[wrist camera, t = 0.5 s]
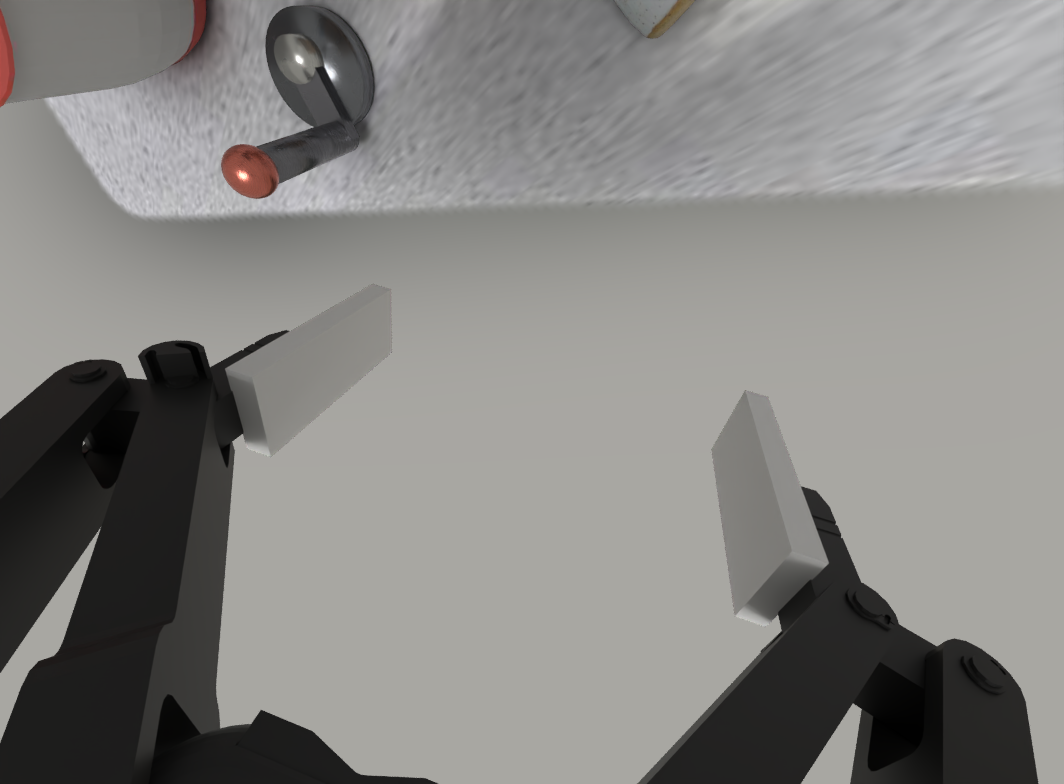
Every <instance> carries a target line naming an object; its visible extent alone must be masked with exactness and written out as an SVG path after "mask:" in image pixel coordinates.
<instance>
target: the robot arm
mask: <svg viewBox="0 0 1064 784" xmlns="http://www.w3.org/2000/svg"><path fill="white" fill-rule="evenodd" d="M391 328H392V327H391V289H389V288H385V287H382V286H378V285H375V284H371V285H370V286H368V287H366V288H364V289H362V290H361V291H359V292H357V293H356V294H354V295H352V296H350V297H349V298H347V299H345V300H343V301H342V302H340V303H338V304H336V305H335V306H333V307H331V308H330V309H328V310H326V311H324V312H323V313H321V314H319V315H317V316H316V317H314V318H312V319H310V320H309V321H307V322H305V323H303V324H302V325H300V326H298V327H296V328H295V329H293V330H291V331H287V330H285V331H281V332H278V333H274V334H271V335H268V336H266V337H264V338H262V339H261V340H259V341H257V342H255V344H251V345H250V346H248V347H246V348H244V350H243V351H242V350H241V351H239V352H237V353H235V354H233V355H232V356H230V357H228V358H226V359H224V360H223V361H221V362H219V363H217V364H215V365H214V366H212V367H210V366H209V363H208V359H207V356H206V353H205V349H204V347H203V346H202V345H200V344H198V343H195V342H191V341H169V342H163V343H160V344H156V345H152V346H150V347H148V348H147V349H145V350H143V351H142V352H141V353H140V354H139V356H138V358H139V360H140V362H141V365H142V367H143V370H144V372H145V375H146V377H147V380H144V379H133V378H127V377H126V374H125V372H124V370H123V368H122V366H121V364H119V363H117V362H115V361H111V360H86V361H80V362H76V363H74V364H72V365H69V366H66V367H63V368H62V369H60V370H58V371H57V372H55V373H54V374H53V375H52V376H50V377H49V378H48V379H47V380H46V381H44V382H43V383H42V384H41V385H40V386H39V387H37V388H36V389H35V390H34V391H33V392H32V393H30V394H29V395H28V396H27V397H26V398H24V400H22V401H21V402H20V403H19V404H17V405H16V406H15V407H14V408H13V409H12V410H10V411H9V412H8V413H7V414H6V415H4V416H3V417H2V418H1V419H0V673H1V671H2V670H3V668H4V667H5V665H6V664H7V663H8V661H9V660H10V658H11V657H12V655H13V654H14V652H15V651H16V649H17V648H18V646H19V645H20V644H21V642H22V641H23V639H24V638H25V636H26V635H27V633H28V632H29V630H30V629H31V628H32V626H33V625H34V623H35V622H36V620H37V619H38V617H39V616H40V614H41V613H42V612H43V610H44V609H45V607H46V606H47V604H48V603H49V601H50V600H51V599H52V597H53V596H54V594H55V593H56V591H57V590H58V588H59V587H60V586H61V584H62V583H63V581H64V580H65V578H66V577H67V575H68V573H69V572H70V571H71V569H72V568H73V567H74V565H75V564H76V562H77V561H78V559H79V558H80V556H81V555H82V553H83V552H84V551H85V549H86V548H87V546H88V545H89V543H90V542H91V541H92V539H93V538H94V536H95V535H96V533H97V532H98V530H99V529H100V527H101V526H102V527H101V530H100V533H99V535H98V538H97V542H96V544H95V548H94V551H93V554H92V556H91V560H90V562H89V565H88V569H87V571H86V574H85V578H84V580H83V583H82V587H81V589H80V592H79V595H78V598H77V601H76V604H75V607H74V610H73V613H72V616H71V619H70V622H69V625H68V628H67V631H66V634H65V637H64V640H63V643H62V645H61V647H60V649H59V651H58V652H57V653H56V654H55V655H54V656H53V657H50V658H47V659H44V660H41V661H38V663H37V664H36V665H35V666H34V667H33V668H32V669H31V670H30V671H29V673H28V675H27V677H26V679H25V681H24V683H23V685H22V687H21V689H20V692H19V695H18V697H17V700H16V703H15V705H14V708H13V711H12V713H11V716H10V719H9V721H8V724H7V727H6V730H5V732H4V735H3V737H2V740H1V743H0V784H437V783H435V782H433V781H431V780H428V779H426V778H409V777H387V776H367V775H360V774H358V773H356V772H355V771H354V770H353V769H351V768H350V767H349V766H348V765H347V764H346V763H345V762H344V761H343V760H342V759H341V758H340V757H339V756H338V755H337V754H336V753H335V752H334V751H333V750H331V749H330V748H329V747H328V746H327V745H326V744H325V743H324V742H323V741H322V740H321V739H320V738H319V737H318V736H317V735H316V734H315V733H314V732H313V731H311V730H308V729H306V728H303V727H301V726H299V725H296V724H294V723H291V722H288V721H286V720H284V719H281V718H279V717H277V716H275V715H272V714H270V713H267V712H265V711H263V710H261V711H260V712H259V714H258V715H257V717H256V718H255V720H254V721H253V722H252V724H245V725H235V726H229V727H225V728H221V729H220V719H219V709H218V703H217V697H216V677H217V664H218V652H219V640H220V627H221V614H222V603H223V590H224V578H225V565H226V552H227V540H228V526H229V515H230V503H231V489H232V478H233V465H234V453H235V450H234V447H233V443H232V441H234V440H235V439H236V438H237V437H239V436H240V435H241V434H243V435H244V439H245V443H246V446H247V449H249V450H252V451H254V452H257V453H260V454H263V455H266V456H269V457H272V456H273V455H274V454H275V453H276V452H277V451H279V450H280V449H281V448H282V447H283V446H284V445H285V444H287V443H288V442H289V441H290V440H291V439H292V438H293V437H295V436H296V435H297V434H298V433H299V432H301V431H302V430H303V429H304V428H305V427H306V426H307V425H308V424H310V423H311V422H312V421H313V420H314V419H316V418H317V417H318V416H319V415H320V414H321V413H322V412H323V411H325V410H326V409H327V408H328V407H329V406H330V405H332V404H333V403H334V402H335V401H336V400H337V399H339V398H340V397H341V396H342V395H343V394H344V393H345V392H347V391H348V390H349V389H350V388H351V387H352V386H354V385H355V384H356V383H357V382H358V381H359V380H360V379H361V378H363V377H364V376H365V375H366V374H367V373H368V372H370V371H371V370H372V369H373V368H374V367H375V366H377V365H378V364H379V363H380V362H381V361H382V360H384V359H385V358H386V357H387V356H388V355H389V354H390V353H392V329H391ZM83 441H84V442H85V444H84V445H83ZM712 456H713V464H714V471H715V478H716V485H717V492H718V498H719V507H720V514H721V521H722V528H723V535H724V542H725V550H726V557H727V563H728V571H729V578H730V585H731V593H732V599H733V607H734V613H735V617H738V618H741V619H744V620H747V621H750V622H752V623H755V624H758V625H761V626H764V627H766V626H767V625H768V624H769V623H770V622H771V621H772V620H773V619H774V618H775V617H776V616H777V615H778V616H779V620H780V624H781V629H782V631H781V632H780V633H779V634H778V635H777V636H776V637H775V638H774V639H773V640H772V641H771V642H770V643H769V644H768V645H767V646H766V647H765V648H764V649H762V650H761V653H760V654H759V655H758V656H757V657H756V659H754V661H752V663H751V664H750V665H749V666H748V667H747V668H746V669H745V670H744V671H743V672H742V673H741V674H740V675H739V676H738V677H737V678H736V680H735V681H734V682H733V683H732V684H731V685H730V686H729V687H728V688H727V689H726V690H725V691H724V693H722V694H721V695H720V697H719V698H718V699H717V700H716V701H715V702H714V703H713V704H712V705H711V706H710V707H709V708H708V710H706V712H705V713H704V714H703V715H702V716H701V717H700V718H699V719H698V720H697V721H696V722H695V723H694V724H693V725H692V726H691V728H690V729H689V730H688V731H687V732H686V733H685V734H684V735H683V736H682V737H681V738H680V739H679V740H678V741H677V742H676V743H675V745H673V747H672V748H671V749H670V750H669V751H668V752H667V753H666V754H665V755H664V756H663V757H662V758H661V759H660V760H659V761H658V762H657V764H656V765H655V766H654V767H653V768H652V769H651V770H650V771H649V772H648V773H647V774H646V775H645V777H643V778H642V779H641V781H640V782H639V783H638V784H801V782H802V781H803V779H804V778H805V776H806V775H807V773H808V771H809V770H810V768H811V767H812V765H813V764H814V762H815V761H816V759H817V758H818V756H819V754H820V753H821V751H822V750H823V748H824V747H825V745H826V744H827V742H828V740H829V739H830V738H831V736H832V734H833V733H834V731H835V730H836V728H837V726H838V725H839V724H840V722H841V721H842V719H843V717H844V716H845V714H846V713H847V711H848V710H849V708H850V707H851V705H852V704H853V703H854V704H855V705H857V706H858V707H860V708H861V709H862V711H861V718H860V724H859V731H858V738H857V744H856V750H855V757H854V763H853V770H852V777H851V783H850V784H1038V779H1037V772H1036V765H1035V759H1034V753H1033V746H1032V740H1031V734H1030V727H1029V721H1028V714H1027V708H1026V702H1025V699H1024V696H1023V694H1022V691H1021V688H1020V687H1019V686H1018V684H1017V683H1016V682H1015V680H1014V679H1013V677H1012V676H1011V675H1010V673H1009V672H1008V671H1007V670H1006V669H1005V668H1004V667H1003V666H1002V665H1001V664H1000V663H998V661H996V660H995V659H994V658H993V657H991V656H990V655H989V654H987V653H986V652H984V651H983V650H982V649H980V648H978V647H977V646H975V645H973V644H971V643H969V642H967V641H963V640H958V639H951V640H947V641H945V642H944V643H942V644H940V645H939V646H935V645H933V644H932V643H930V642H928V641H926V640H925V639H923V638H921V637H920V636H918V635H916V634H914V633H913V632H911V631H909V630H907V629H906V628H904V627H902V626H901V625H899V623H898V620H897V617H896V614H895V613H894V611H893V610H892V609H891V607H890V606H889V604H888V603H887V602H886V601H885V600H884V599H883V598H882V597H881V596H880V595H879V594H878V593H877V592H876V591H874V590H873V589H871V588H869V587H868V586H867V585H865V584H864V583H861V581H860V578H859V576H858V574H857V571H856V569H855V566H854V564H853V562H852V559H851V557H850V555H849V552H848V550H847V547H846V545H845V543H844V540H843V538H841V533H840V531H839V528H838V526H837V525H835V524H836V521H835V519H834V517H833V514H832V512H831V509H830V507H829V506H828V505H827V503H826V502H825V501H824V500H823V499H822V497H821V496H820V495H819V494H818V493H817V492H816V491H814V490H811V489H808V488H805V487H801V486H800V483H799V480H798V477H797V475H796V472H795V469H794V467H793V464H792V461H791V458H790V456H789V453H788V450H787V447H786V445H785V442H784V439H783V436H782V434H781V431H780V428H779V425H778V423H777V420H776V417H775V415H774V412H773V409H772V407H771V404H770V401H769V398H768V397H767V396H764V395H760V394H756V393H753V392H750V391H746V390H745V392H744V393H743V395H742V397H741V399H740V400H739V402H738V404H737V406H736V407H735V409H734V411H733V412H732V414H731V416H730V418H729V419H728V421H727V423H726V425H725V426H724V428H723V430H722V432H721V433H720V435H719V437H718V439H717V441H716V442H715V444H714V446H713V447H712Z"/></svg>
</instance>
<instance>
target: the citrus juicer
mask: <svg viewBox="0 0 1064 784" xmlns="http://www.w3.org/2000/svg"><path fill="white" fill-rule="evenodd" d="M205 20H206V0H0V107H1V106H3V105H4V104H6V103H13V102H20V101H27V100H34V99H42V98H49V97H56V96H63V95H70V94H77V93H84V92H91V91H98V90H105V89H112V88H116V87H121V86H125V85H130V84H134V83H136V82H139V81H141V80H143V79H146V78H148V77H150V76H153V75H155V74H157V73H159V72H161V71H164V70H165V69H166V68H168V67H169V66H171V65H173V64H176V63H178V62H180V61H181V60H182V59H183V58H184V57H185V56H186V55H187V54H188V53H189V52H190V51H191V50H192V48H193V47H194V46H195V45H196V44H197V43H198V41H199V39H200V37H201V35H202V33H203V31H204V26H205Z"/></svg>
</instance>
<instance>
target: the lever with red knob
mask: <svg viewBox="0 0 1064 784" xmlns="http://www.w3.org/2000/svg"><path fill="white" fill-rule="evenodd" d="M266 57H267V62H268V67H269V70H270V73H271V76H272V79H273V81H274V83H275V86H276V87H277V89H278V91H279V93H280V95H281V96H282V98H283V99H284V101H285V102H286V103H287V105H288V106H289V107H290V108H291V110H292V111H293V112H294V113H295V114H296V115H297V116H298V117H300V118H301V119H302V120H303V121H305V122H306V123H308V124H309V125H311V126H313V127H314V128H311V129H308V130H305V131H302V132H299V133H296V134H293V135H290V136H287V137H284V138H281V139H278V140H275V141H272V142H269V143H266V144H263V145H260V146H257V147H255V146H252V145H247V144H240V145H235V146H232V147H231V148H229V149H228V150H227V151H226V152H225V153H224V155H223V157H222V162H221V168H222V173H223V175H224V178H225V179H226V181H227V182H228V184H229V185H230V186H231V187H232V188H233V189H234V190H235V191H237V192H238V193H240V194H241V195H243V196H246V197H249V198H255V199H260V198H265V197H268V196H269V195H271V194H272V193H273V192H274V191H275V190H276V188H277V186H278V184H279V183H282V182H284V181H286V180H288V179H291V178H293V177H295V176H297V175H300V174H302V173H304V172H306V171H309V170H311V169H313V168H315V167H318V166H320V165H322V164H324V163H327V162H329V161H331V160H333V159H336V158H338V157H340V156H342V155H344V154H347V153H349V152H351V151H353V150H355V149H356V148H357V147H358V144H359V135H358V133H357V131H356V129H355V127H354V124H356V123H358V122H360V121H361V120H362V119H363V118H364V117H365V116H366V114H367V113H368V111H369V109H370V106H371V103H372V99H373V75H372V70H371V66H370V63H369V59H368V57H367V54H366V52H365V50H364V48H363V46H362V44H361V42H360V40H359V39H358V37H357V36H356V34H355V33H354V32H353V30H352V29H351V28H350V27H349V26H348V25H347V24H346V23H345V22H344V21H343V20H342V19H341V18H340V17H338V16H337V15H336V14H334V13H333V12H331V11H329V10H327V9H324V8H321V7H316V6H290V7H286V8H284V9H282V10H280V11H279V12H278V13H277V14H276V15H275V16H274V17H273V18H272V20H271V22H270V24H269V27H268V30H267V35H266Z"/></svg>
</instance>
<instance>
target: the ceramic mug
mask: <svg viewBox="0 0 1064 784" xmlns="http://www.w3.org/2000/svg"><path fill="white" fill-rule="evenodd" d="M614 1H615V2H616V4H617V5H618V7H619V8H620V9H621V11H622V12H623V14H624V15H625V16H626V18H627V19H628V20H629V22H630V23H631V24H632V25H633V26H634V27H635V28H637V29H638V30H639V31H640V32H641V33H642V34H643V35H644V36H646V37H647V38H658V37H660V36H661V35H662V34H664V33H665V32H666V31H667V30H668V29H669V28H670V27H671V26H672V25H673V24H674V23H675V22H676V21H677V20H678V19H679V18H680V17H681V15H682V14H683V13H684V12H685V11H686V10H687V9H688V8H689V7H690V6H691V5H692V3H693V2H694V1H695V0H614Z"/></svg>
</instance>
